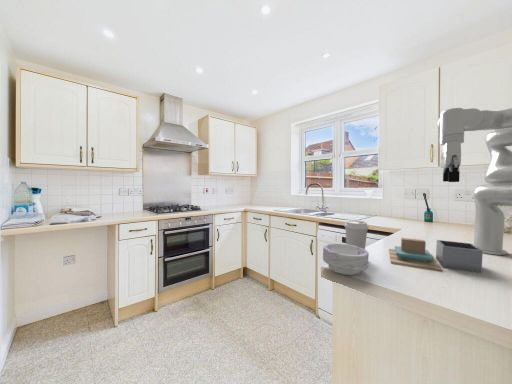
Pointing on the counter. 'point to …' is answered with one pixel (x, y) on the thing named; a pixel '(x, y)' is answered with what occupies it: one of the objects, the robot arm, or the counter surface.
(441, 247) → the tin
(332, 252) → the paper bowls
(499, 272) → the counter surface
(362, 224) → the coffee cup
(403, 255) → the lid
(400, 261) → the wooden board
